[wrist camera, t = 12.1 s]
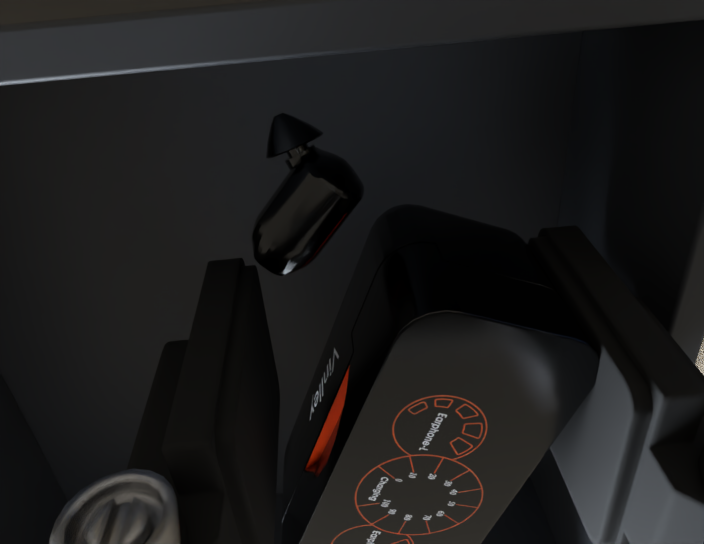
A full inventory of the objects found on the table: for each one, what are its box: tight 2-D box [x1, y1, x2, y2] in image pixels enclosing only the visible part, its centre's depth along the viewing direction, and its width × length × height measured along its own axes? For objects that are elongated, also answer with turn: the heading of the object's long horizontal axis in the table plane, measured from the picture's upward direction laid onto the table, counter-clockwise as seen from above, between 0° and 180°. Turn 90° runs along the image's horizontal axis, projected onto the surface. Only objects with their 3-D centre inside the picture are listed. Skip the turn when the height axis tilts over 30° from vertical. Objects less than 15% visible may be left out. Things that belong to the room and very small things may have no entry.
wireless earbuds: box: [252, 113, 600, 544], centre depth 9 cm, size 5×7×3 cm, turn 161°
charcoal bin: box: [0, 0, 704, 544], centre depth 12 cm, size 14×14×5 cm
